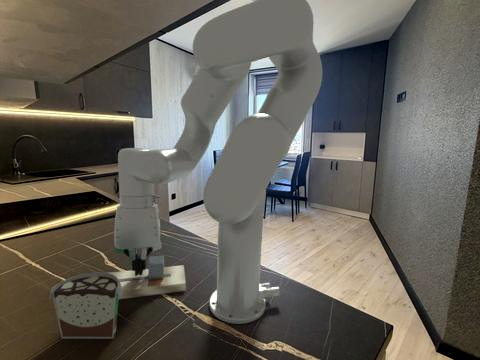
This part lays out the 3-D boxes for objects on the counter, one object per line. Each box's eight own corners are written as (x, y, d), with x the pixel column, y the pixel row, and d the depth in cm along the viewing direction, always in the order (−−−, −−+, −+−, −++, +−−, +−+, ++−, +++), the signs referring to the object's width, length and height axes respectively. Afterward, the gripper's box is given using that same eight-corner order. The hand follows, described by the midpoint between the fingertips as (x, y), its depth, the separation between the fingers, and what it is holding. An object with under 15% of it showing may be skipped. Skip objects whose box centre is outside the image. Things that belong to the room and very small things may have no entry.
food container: (134, 315, 53) (132, 271, 51) (121, 338, 47) (119, 289, 45) (73, 315, 52) (70, 270, 51) (53, 338, 46) (48, 288, 45)
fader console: (183, 271, 70) (183, 264, 70) (185, 290, 62) (185, 282, 61) (95, 281, 64) (95, 273, 64) (84, 303, 56) (83, 294, 56)
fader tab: (164, 269, 66) (163, 255, 66) (163, 278, 62) (163, 263, 62) (149, 271, 65) (149, 256, 65) (148, 280, 61) (148, 265, 61)
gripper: (170, 196, 65) (170, 262, 68) (106, 197, 61) (109, 268, 64) (170, 204, 58) (170, 277, 61) (97, 206, 54) (102, 284, 57)
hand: (139, 272), depth 63 cm, fingers closed
